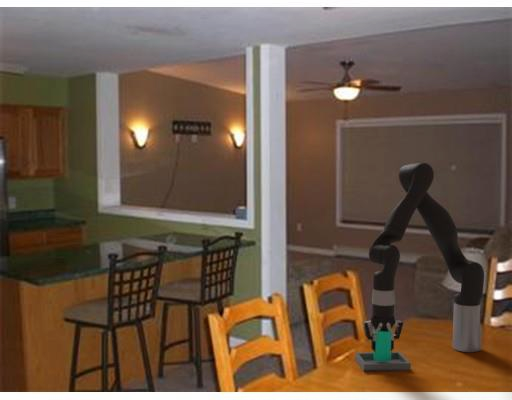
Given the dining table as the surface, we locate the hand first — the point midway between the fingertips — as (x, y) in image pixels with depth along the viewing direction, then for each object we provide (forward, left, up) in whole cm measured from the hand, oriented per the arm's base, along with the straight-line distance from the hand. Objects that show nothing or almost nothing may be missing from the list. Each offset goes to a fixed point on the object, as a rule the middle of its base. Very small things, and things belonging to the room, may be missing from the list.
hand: (382, 350), depth 214 cm
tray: (0, 0, -5) cm, 5 cm away
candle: (0, 0, -3) cm, 3 cm away
